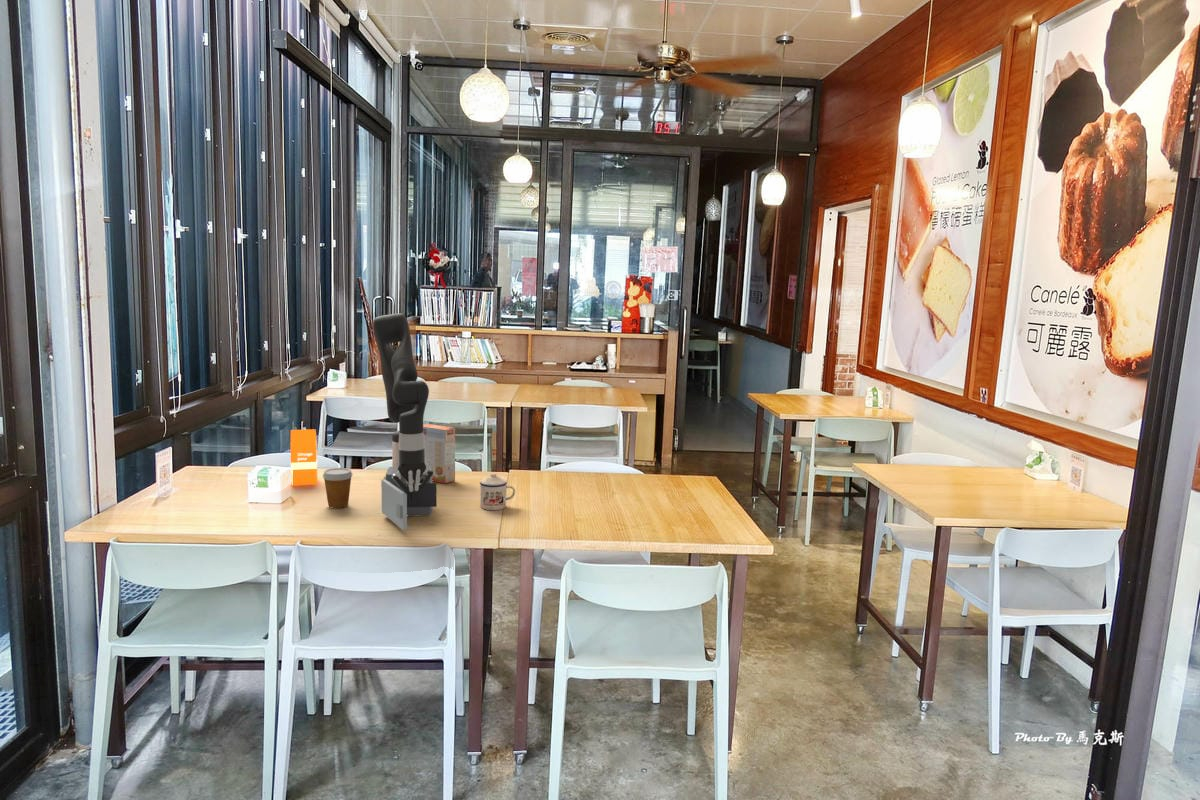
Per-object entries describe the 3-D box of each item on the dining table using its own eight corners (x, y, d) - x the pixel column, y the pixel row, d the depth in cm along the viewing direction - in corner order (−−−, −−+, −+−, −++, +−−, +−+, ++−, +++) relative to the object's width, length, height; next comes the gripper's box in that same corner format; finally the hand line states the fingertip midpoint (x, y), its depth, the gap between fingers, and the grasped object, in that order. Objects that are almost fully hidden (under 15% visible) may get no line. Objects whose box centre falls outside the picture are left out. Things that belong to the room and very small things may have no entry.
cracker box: (455, 481, 300) (456, 427, 297) (444, 484, 295) (444, 429, 292) (429, 475, 307) (428, 422, 304) (417, 478, 302) (417, 425, 299)
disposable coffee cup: (352, 509, 261) (352, 474, 259) (322, 510, 258) (321, 475, 256) (353, 501, 270) (352, 467, 268) (324, 502, 267) (323, 468, 265)
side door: (385, 512, 254) (385, 479, 252) (407, 529, 237) (406, 494, 235) (379, 513, 252) (378, 479, 251) (400, 530, 236) (400, 495, 234)
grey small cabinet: (385, 507, 263) (385, 464, 261) (437, 506, 266) (437, 464, 264) (382, 516, 254) (381, 472, 251) (436, 515, 256) (436, 471, 254)
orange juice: (292, 480, 294) (291, 428, 291) (317, 479, 296) (316, 427, 293) (291, 485, 286) (289, 432, 283) (317, 484, 289) (315, 431, 286)
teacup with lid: (480, 511, 263) (480, 477, 261) (479, 503, 272) (479, 470, 270) (516, 510, 265) (516, 476, 263) (513, 502, 274) (514, 470, 272)
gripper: (428, 442, 242) (429, 496, 245) (386, 446, 235) (387, 502, 238) (437, 447, 236) (438, 502, 239) (394, 451, 229) (395, 508, 232)
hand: (412, 502), depth 239 cm, fingers closed
